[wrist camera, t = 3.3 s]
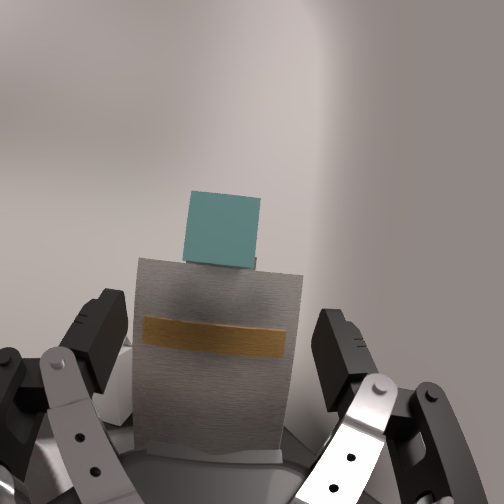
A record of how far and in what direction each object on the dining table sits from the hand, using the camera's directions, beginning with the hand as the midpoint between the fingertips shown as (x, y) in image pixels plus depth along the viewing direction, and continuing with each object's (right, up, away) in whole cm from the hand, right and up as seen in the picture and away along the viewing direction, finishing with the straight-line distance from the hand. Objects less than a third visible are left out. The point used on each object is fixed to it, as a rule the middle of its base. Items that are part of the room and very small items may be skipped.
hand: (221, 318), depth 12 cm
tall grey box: (-6, -31, +20) cm, 37 cm away
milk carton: (-27, -30, +36) cm, 54 cm away
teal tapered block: (-2, +1, +16) cm, 16 cm away
